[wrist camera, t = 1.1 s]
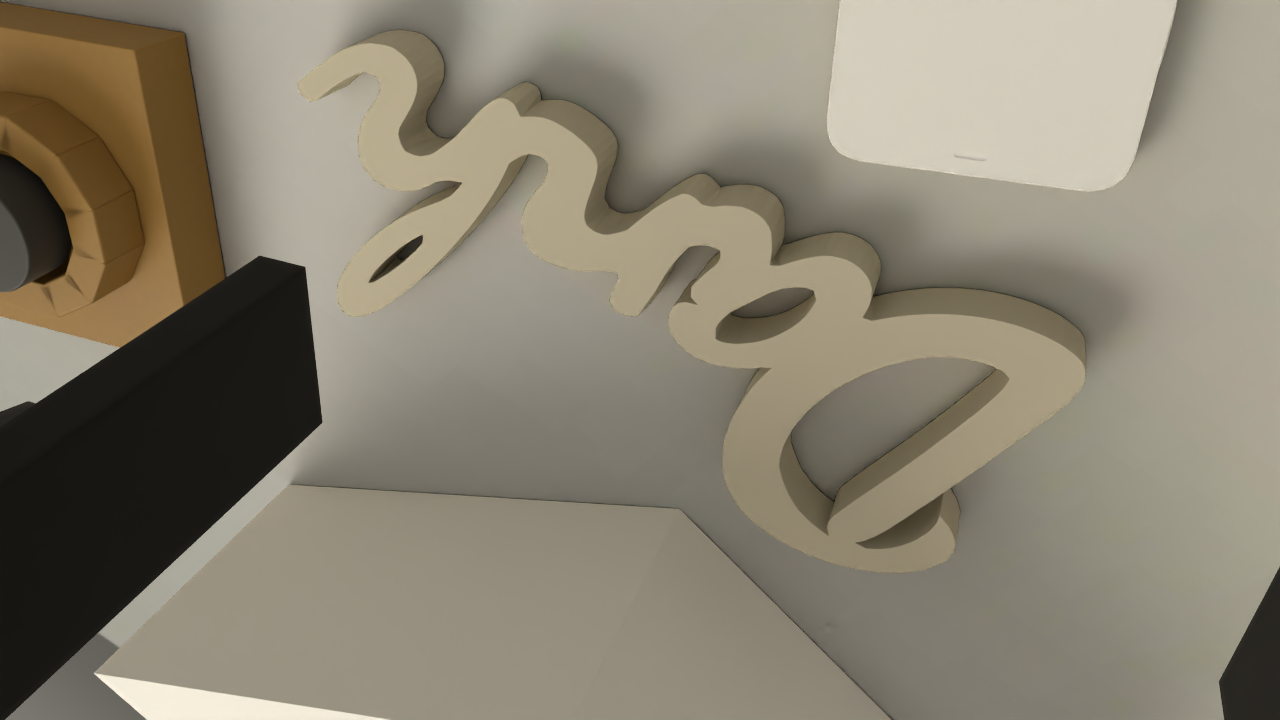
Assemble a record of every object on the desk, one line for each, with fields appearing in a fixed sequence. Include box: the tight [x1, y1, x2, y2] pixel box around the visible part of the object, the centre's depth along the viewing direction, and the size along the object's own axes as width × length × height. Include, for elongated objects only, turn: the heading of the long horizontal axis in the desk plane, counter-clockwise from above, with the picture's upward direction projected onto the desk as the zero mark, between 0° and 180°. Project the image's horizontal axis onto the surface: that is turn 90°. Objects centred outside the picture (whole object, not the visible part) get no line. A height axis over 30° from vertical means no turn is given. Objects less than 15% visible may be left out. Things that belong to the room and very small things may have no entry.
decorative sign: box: [297, 30, 1086, 573], centre depth 31 cm, size 23×2×10 cm
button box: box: [0, 2, 225, 348], centre depth 36 cm, size 11×9×4 cm
